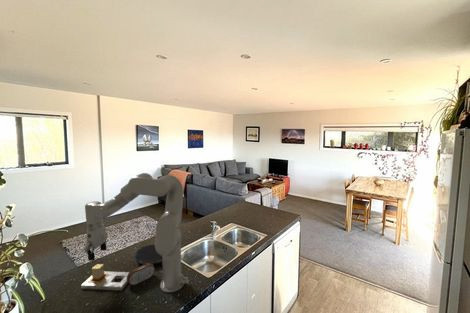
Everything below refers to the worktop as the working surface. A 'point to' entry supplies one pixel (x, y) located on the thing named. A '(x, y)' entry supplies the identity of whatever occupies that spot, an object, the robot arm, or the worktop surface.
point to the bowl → (148, 255)
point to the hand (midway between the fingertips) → (97, 254)
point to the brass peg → (98, 272)
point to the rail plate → (107, 281)
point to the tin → (140, 274)
